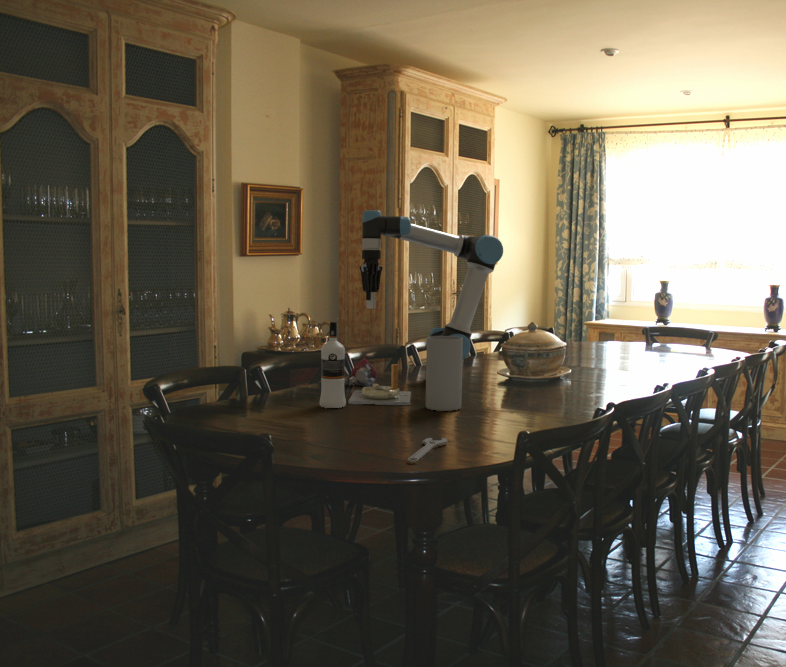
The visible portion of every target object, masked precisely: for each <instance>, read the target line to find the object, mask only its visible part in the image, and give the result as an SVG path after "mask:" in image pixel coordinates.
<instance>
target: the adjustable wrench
mask: <svg viewBox="0 0 786 667" xmlns="http://www.w3.org/2000/svg"><path fill="white" fill-rule="evenodd" d="M448 442H449V441H448V439H447V438H445V437H441V439H440V440H438V439H437V440H433V437H427V438H425V439H424V440H422V443H425V444H426V445H425V446H424V445H423V446H422V447H421V448H420V449H418V450H416V452H415V453H413V454H412V455H410V456H409V457H408V458H407V462H408V461H410V462H416V461H418V460H419V459H420V458H422V457H423V456H424V455H425V454H426V453H427V452H429V451H430V450H431V449H432V448H433V447H435V446H437V445H441V444H446V443H447V444H448ZM412 459H414V460H412Z"/></svg>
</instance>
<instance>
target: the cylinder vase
mask: <svg viewBox="0 0 786 667" xmlns="http://www.w3.org/2000/svg"><path fill="white" fill-rule="evenodd" d="M462 350H463V338H461V337H454V336H430V335H429V336H427V337H426V359H425V360H426V361H425V362H426V365H425V366H426V368H425V375H426V380H425V407H426V409H427V410H429V409H430V411H433V410H436V411H435V412H443V411H448V412H453V411H452V410H456V411H459V410H461V408H462V396H463V395H462V391H463V390H462V389H463V380H462V379H463V360H462ZM458 409H459V410H458Z"/></svg>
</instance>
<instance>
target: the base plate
mask: <svg viewBox="0 0 786 667" xmlns="http://www.w3.org/2000/svg"><path fill="white" fill-rule="evenodd" d="M411 397H412V391H409V390H408V391H404V390H402V391H401V390H400V396H399V397H397V398H391V399H372V398H366V397H363V396H362V389H361V390H357V389H356V390H354V391H353V392H352V394H351V396H350V398H349V399H348V401H347V402H348V405H363V404H375V406H410V405H411Z"/></svg>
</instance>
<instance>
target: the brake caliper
mask: <svg viewBox="0 0 786 667" xmlns="http://www.w3.org/2000/svg"><path fill="white" fill-rule="evenodd" d="M350 373H351V374H350V375H351V377H350V378H348V381H349V382H350V383H351V384H354V385H353V386H355V385H361V386H360V387H370V386H373V384H375V382H376V380H377V375H378V373H377V371H376V369H375V368H374V367H373V365H371V363H370V362H369V361H368V360H367V359H366V358H363V359H361V360H360V361H359V362H358V363H357V364H356V366H354V367H353V368H352V370H351V371H350Z"/></svg>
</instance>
